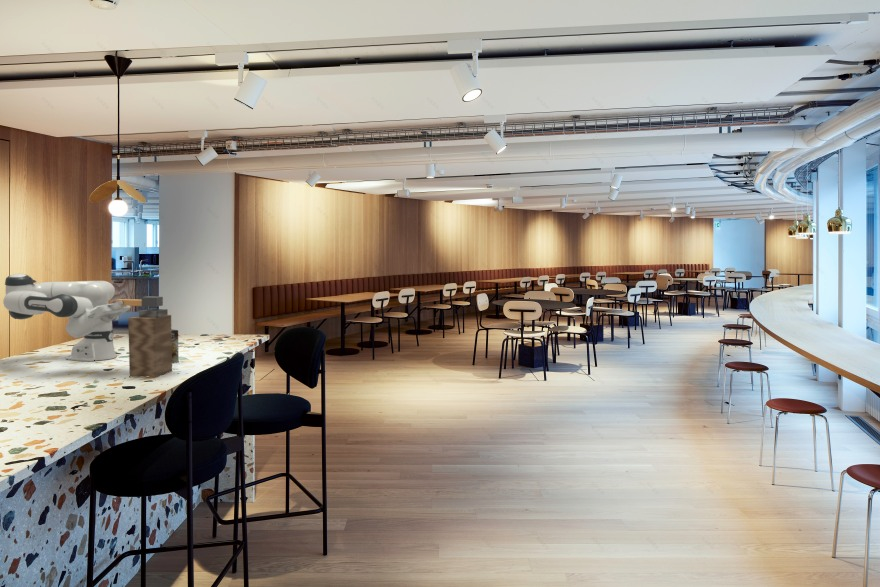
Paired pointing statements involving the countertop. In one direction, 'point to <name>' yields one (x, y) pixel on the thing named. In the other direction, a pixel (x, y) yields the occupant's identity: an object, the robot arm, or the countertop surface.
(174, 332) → the coffee box
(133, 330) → the stand
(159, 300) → the handled tool
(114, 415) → the countertop surface
